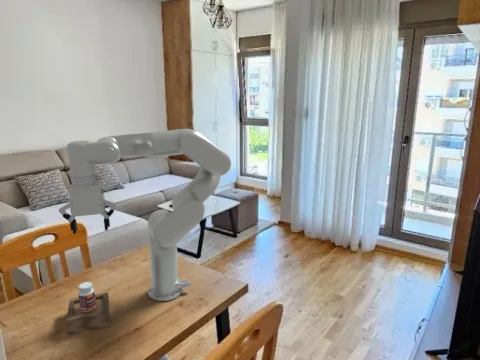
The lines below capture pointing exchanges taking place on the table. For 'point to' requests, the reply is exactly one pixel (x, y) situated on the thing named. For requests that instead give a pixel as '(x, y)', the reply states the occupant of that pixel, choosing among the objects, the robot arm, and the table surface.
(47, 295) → the table surface
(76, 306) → the walnut tray
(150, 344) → the table surface
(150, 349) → the table surface
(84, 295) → the pill bottle
